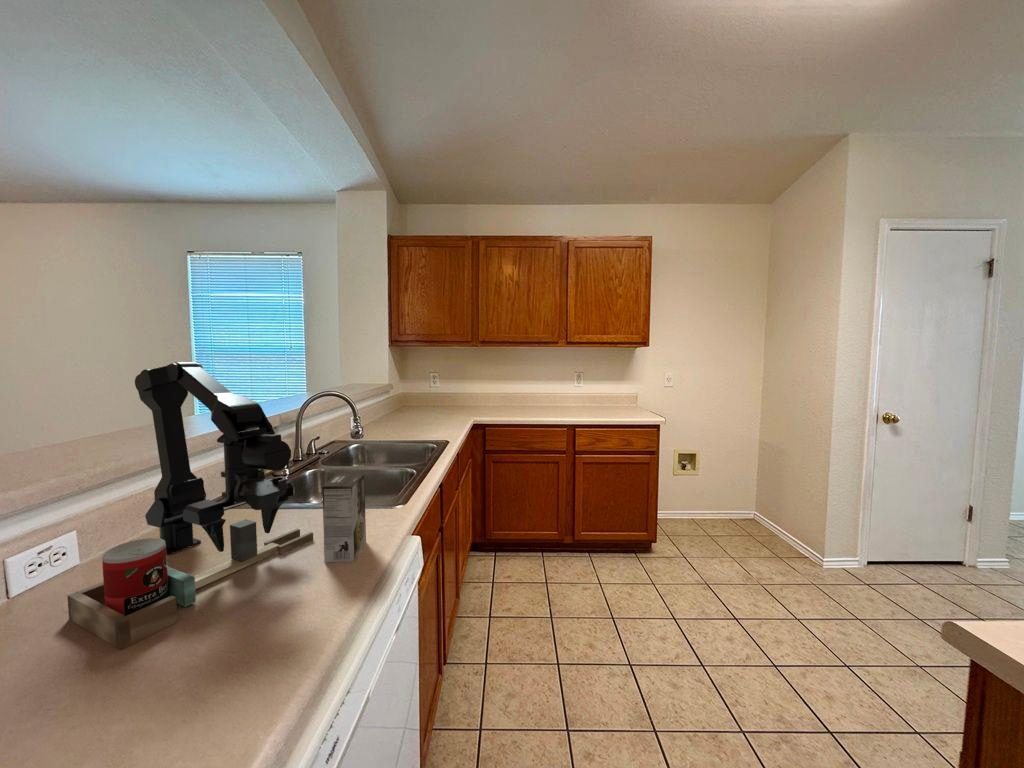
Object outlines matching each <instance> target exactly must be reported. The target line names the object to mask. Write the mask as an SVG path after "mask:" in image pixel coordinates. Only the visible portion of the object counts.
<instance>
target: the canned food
mask: <svg viewBox="0 0 1024 768" xmlns="http://www.w3.org/2000/svg"><path fill="white" fill-rule="evenodd" d="M101 560H102V563H101V564H102V578H103V582H104V595H105V606H107V607H109V608H111V609H113V610H114V611H116V612H118V613H120V614H122V615H124V616H127V615H129V614H132V613H134V612H136V611H138V610H141V609H143V608H145V607H147V606H149V605H152V604H154V603H156V602H158V601H161V600H163V599H165V598H167V597H169V594H168V572H167V566H168V556H167V552H166V544H165V540H163V539H160V537H159V538H158V537H156V538H155V537H151V538H150V537H148V538H141V539H136V540H135V539H134V540H131V541H127V542H124V543H121V544H118V545H116V546H113V547H111V548H110V549H108V550H106V551H105V552H104V553H103V554H102V559H101Z"/></svg>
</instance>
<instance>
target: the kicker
mask: <svg viewBox="0 0 1024 768" xmlns="http://www.w3.org/2000/svg"><path fill="white" fill-rule="evenodd" d="M229 535H230V558H231V560H228V561H226V562H224V563H221V564H218V565H217V566H214V567H211V568H210V569H206V570H205V571H203V572H201V573H198V574H196V575H190V574H188V573H186V572H183V571H180V570H178V569H175V568H173V567H170V566H168V565H167V572H168V594H169V597H170V596H174V597H176V605H177V604H178V605H180V606H182V607H184V608H186V607H188V606H190V605H192V604H194V603H196V602H197V597H196V590H197V589H199V588H201V587H204V586H206V585H208V584H210V583H212V582H215V581H217V580H220V579H221V578H223V577H226V576H228V575H230V574H233V573H234V572H237V571H239V570H242V569H244V568H245V567H248V566H251V565H252V564H254V563H257V562H259V561H261V560H263V559H265V558H268V557H270V556H272V555H274V554H278V546H279V545H278V544H275V543H270V544H268V545H265V546H264V545H263V546H261V547H259V548H258V539H257V537H258V536H257V521H254V520H251V519H247V518H246V519H243V520H240V521H237V522H234V523H232V524H229Z"/></svg>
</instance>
